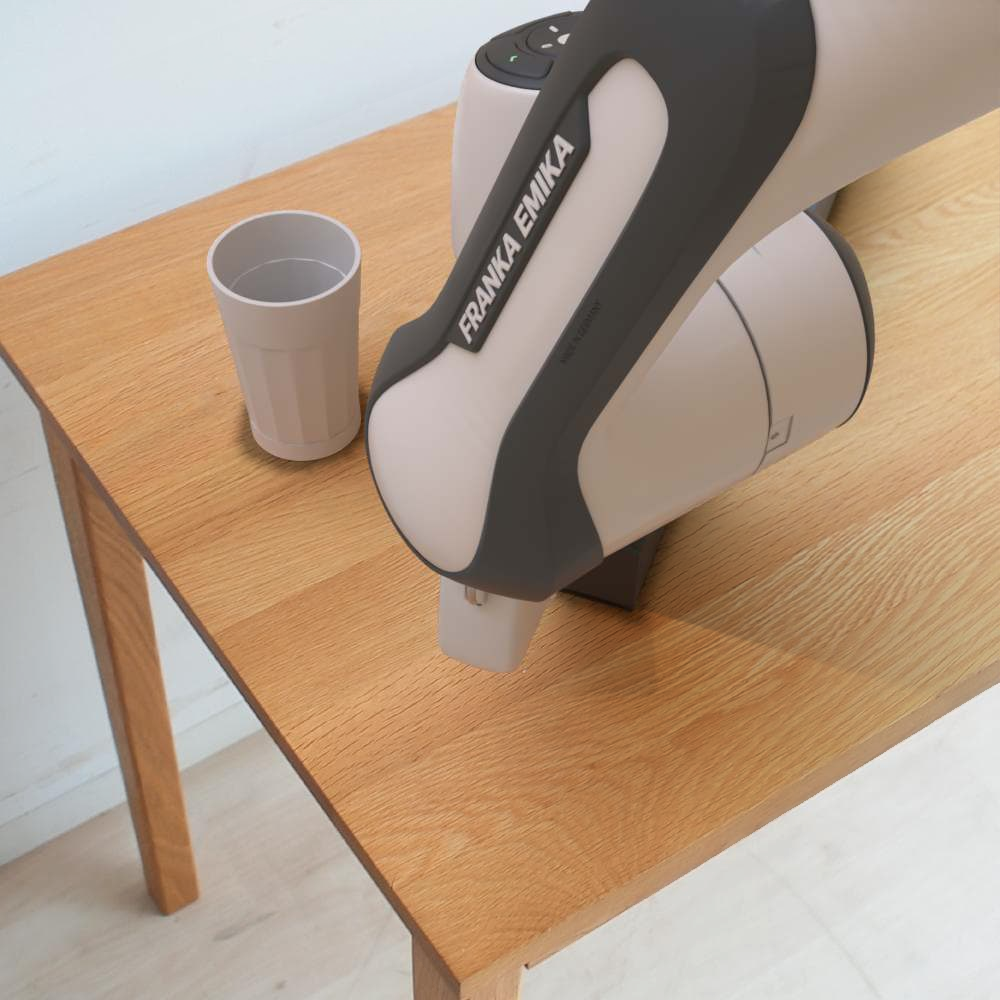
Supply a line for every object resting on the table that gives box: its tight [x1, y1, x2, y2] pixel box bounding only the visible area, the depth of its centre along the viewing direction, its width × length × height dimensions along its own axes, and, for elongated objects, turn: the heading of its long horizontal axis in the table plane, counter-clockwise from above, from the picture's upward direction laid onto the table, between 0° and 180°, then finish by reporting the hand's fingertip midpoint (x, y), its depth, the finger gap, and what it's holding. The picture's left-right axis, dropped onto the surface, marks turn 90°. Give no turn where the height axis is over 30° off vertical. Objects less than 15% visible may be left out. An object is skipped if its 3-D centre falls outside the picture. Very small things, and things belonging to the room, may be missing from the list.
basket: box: [559, 523, 669, 613], centre depth 77 cm, size 10×8×4 cm
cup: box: [206, 209, 362, 462], centre depth 79 cm, size 8×8×12 cm
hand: (547, 576), depth 72 cm, fingers closed
